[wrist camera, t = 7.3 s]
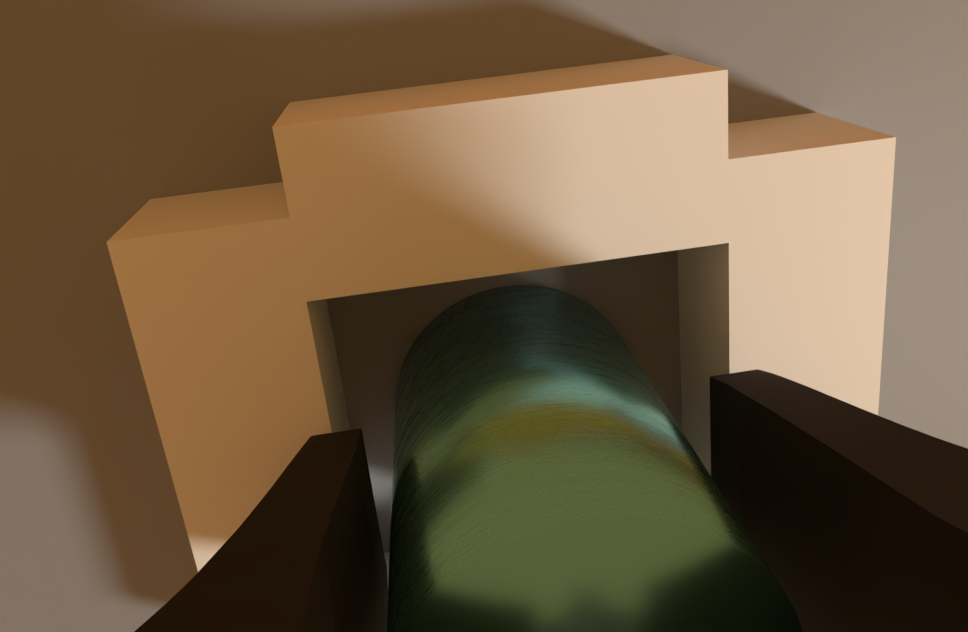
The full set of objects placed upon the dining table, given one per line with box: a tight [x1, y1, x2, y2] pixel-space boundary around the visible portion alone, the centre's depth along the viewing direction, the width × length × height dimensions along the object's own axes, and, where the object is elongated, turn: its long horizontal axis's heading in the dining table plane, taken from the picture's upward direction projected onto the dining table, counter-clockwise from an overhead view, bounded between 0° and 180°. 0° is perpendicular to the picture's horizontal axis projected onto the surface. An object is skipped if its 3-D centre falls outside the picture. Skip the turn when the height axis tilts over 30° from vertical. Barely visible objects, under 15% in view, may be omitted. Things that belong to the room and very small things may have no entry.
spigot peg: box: [387, 285, 803, 632], centre depth 10 cm, size 4×4×6 cm
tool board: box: [0, 0, 968, 632], centre depth 13 cm, size 22×14×3 cm, turn 96°
